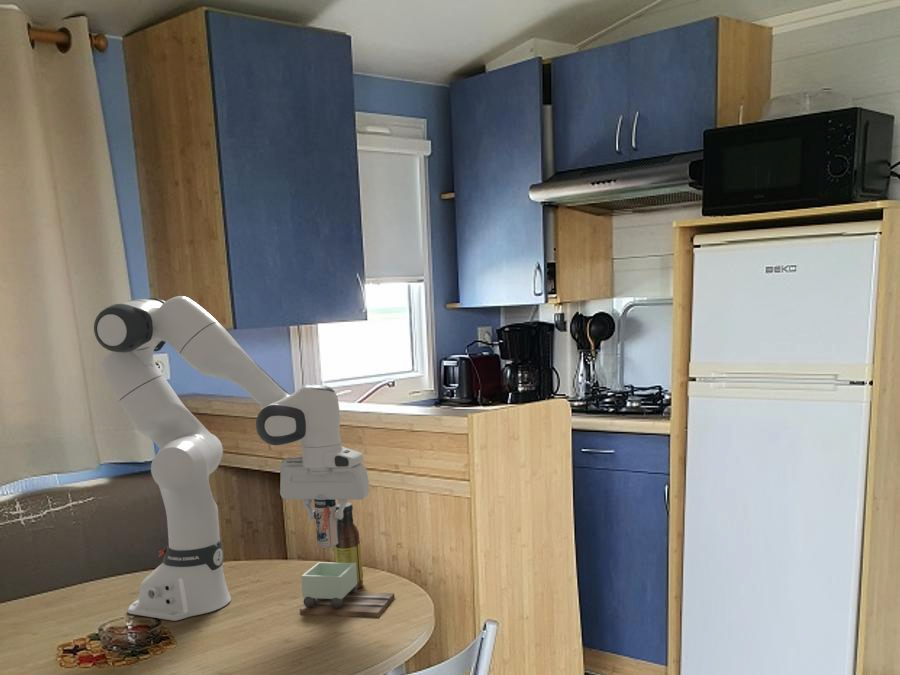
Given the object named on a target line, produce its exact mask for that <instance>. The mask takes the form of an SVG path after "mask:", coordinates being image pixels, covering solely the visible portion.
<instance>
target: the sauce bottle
mask: <svg viewBox="0 0 900 675" xmlns="http://www.w3.org/2000/svg"><path fill="white" fill-rule="evenodd" d="M340 505H341V504H338V503H337V504H336V510H338V509H339V507H340ZM353 510H354V507H353V503H352V502H347V504H346V506H345V508H344V510H343V519H341V520H338V519H337V532H338V542H339V543H338V544H337V545H336V546H334V547H333V550H334V552H333V553H334V562H335V563H356V570H357V585H356V586H357V589H359V588H361V587H362V586H363V585H364V580H363V578H364V574H363V572H364V570H363V561H362V560H363V559H362V548H361V540H360V532H359V529H358V526H356V525H355V523H354V519H353V518H354V517H353Z"/></svg>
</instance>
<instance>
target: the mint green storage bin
mask: <svg viewBox="0 0 900 675" xmlns="http://www.w3.org/2000/svg"><path fill="white" fill-rule="evenodd" d="M300 579H301V593H302V598H303V606H304V605H305V606H306V607H308V608H310V607H312V606H313V605H314V604H315V602H316V600H315V598H324V599H332V600H331V606H332V607H333V608H335V609H338V608H340V607H341V606H342V604H343V600H342V599H343V598H344V597H345V596H346V595H347V594H353V593H354V592H357V590H358V588H357V586H356V585H357V570H356V563H335V561H334V562H330V561H329V562H328V561H327V562H326V561H324V562H323V561H318V562H317V563H316V564H314V565H313V566H312V567H311V568H309V569H308V570H307V571H305V572H304V573H303V574H302V575H301V578H300Z"/></svg>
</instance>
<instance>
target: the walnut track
mask: <svg viewBox="0 0 900 675" xmlns="http://www.w3.org/2000/svg"><path fill="white" fill-rule="evenodd" d="M394 599H395V593H394V592H389V593H388V592H373V591H372V592H370V591H369V592H367V591H355V592H354V593H353V594H347V595H346V596H345V597H344V598H343V599H342V600H343V604H342V606H341V607H340V608H338V609H335V608H333V607H332V606H331V600H332V599H324V598H315V600H316V602H315V604H314V605H313V606H312V607H310V608H308V607H306V606H305V605H304V604H303V606H301V607H300V608H299V614H301V615H318V616H319V615H322V616H323V615H324V616H342V617H344V616H345V617H367V618H369V617H370V618H379V617H380V616H381V615H382V614H383V613H384V611H385V610H386V608H387V607H388V606H389V605H390V604H391V603H392V601H393V600H394Z"/></svg>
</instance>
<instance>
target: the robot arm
mask: <svg viewBox="0 0 900 675" xmlns="http://www.w3.org/2000/svg"><path fill="white" fill-rule="evenodd" d="M93 331H94V332H93V334H94V335H95V339H96V341H97V342H98V344H100V346H101V347H103V348H104V349H106V350H107V351H108V352H106V353H105V355H104V356H103V358H102V360H101V370H102V373H103V375H104V377H105V380H106V382H107V384H108V386H109V388H110V389H111V391H112V393H113V395H114V397H115V398H116V400H117V401H118V403H119V404H120V406H121V407H122V409H123V410H124V412H125V413H126V415H127V416H128V418H129V419H130V420H131V422H132V423H133V425H134V426H135V428H136V430H137V431H138V432H140V433H141V434H142V435H144V436H146V437H148V438H149V439H150V441H152V442H153V443H154V444H155V445H156V446H157V447H158V448H160V449H159V450H158V452H156V454H155V455H154V457H153V459H152V461H151V466H150V473H151V476H152V479H153V481H154V482H155V483H156V484H157V486H158V487H159V492H160V493H161V494H160V495H161V497H162V501H163V505H164V508H165V513H166V520H167V521H166V524H167V536H168V545H167V546H165V547H164V548H163V549H162V550H160V551H158V553H159V555H158V557H162V556H163V555H164V556H163V560H162V563H160V565H158V566H157V567H156V568H155V569H154V570H153V571H152V572H150V573H149V574H148V575H147V576H146V577H145V578H144V579H143V580H142V582H141V583H140V587H139V591H138V598H137V599H136V600H135V601H134V602H132V603H131V604H129V607H128V610H127V611H128V614H130V615H136V616H142V617H149V618H153V619H155V618H157V619H159V620H160V619H162V620H168V621H179V620H183V619H187V618H190V617H195V616H199V615H204V614H208V613H212V612H214V611H216V610H219V609H221V608H223V607H225V606H227V605H228V604H229V603H231V600H232V597H231V594H230V592H229V588H228V586H227V582H226V578H225V573H224V568H223V564H224V563H223V562H224V561H223V560H224V559H223V558H224V552H223V542H222V541H223V540H222V538H220V520H219V510H218V509H219V507H218V504H217V503H216V501H215V499H214V497H213V492H212V489H211V485H210V475H212V473H214V472H215V471H216V470H217V469H218V467H219V465H220V463H221V461H222V458H223V454H224V448H223V444H222V442H221V440H220V439H219V438H218V437H217V436H216V435H214V434H213V433H211V432H210V431H209V430H208V429H207V428H206V427H205V426H204V424H203V423H202V422H201V421H200V420H199V419H198V418H197V417H196V416H195V415H194V414H193V413H192V412H191V411H190V410H189V409H188V408H187V407H186V405H184V403H183V402H182V400H181V399H180V397H179V396H178V395H177V394H176V392H175V390H174V389H173V388H172V386H171V385H170V383H169V382H168V380H167V379H166V377H165V375H164V374H163V373H162V372H161V370H160V369H159V367H158V365H157V364H156V361H155V360H154V352H159V351H161V350H162V349H163V348H164V345H165V344H166V343H167V345H170V347H171V348H172V349H174V350H175V352H176V353H177V354H178V355H179V356H180V357H181V358H182V360H184V361H185V362H186V363H187V364H188V365H189V366H190V367H192V368H193V369H194V370H196V371H197V372H199V373H200V374H201V375H203V376H205V377H210V378H216V379H219V380H220V379H221V380H224V381H228V382H231V383H233V384H234V385H235V384H236V385H237V386H238V387H240V388H241V389H242V390H243V391H245V393H247V394H248V395H249V396H250V397H251V398H252V399H253V400H254V401H255V402H257V404H258V405H260V406H261V408H262V409H261V410H260V412H259V413H258V414H257V417H256V421H255V429H256V432H257V433H256V434H257V435H258V436H259V438H260V439H261V440H262V441H263V442H264V443H266V444H267V445H271V446H277V447H278V446H284V445H288V444H290V443H294V442H300V443H301V457H300V456H299V457H290V456H289V457H285V459H283V460H281V462H280V464H279V472H280V475H281V476H280V485H279V486H280V487H279V488H280V489H279V492H280V493H279V494H280V496H281V498H282V499H283V500H294V501H296V500H298V501H299V500H302V505H303V507H304V509H305V510H306V511H307V515H308V520H316V516H315V508H314V507H313V504H311V503H312V502H313V500H314V499H315V498H316V497H317V495H318V494H319V495H321V494H325V496H326V497H327V498H329V500H335V501H337V504H341V505H340V507H339V509H338V510H336V511H335V512H334V515H335V517H334V519H338V520H341V519H343V510H344V508H345V506H346V504H347V503H348V501H351V500H352V501H353V500H356V501H357V500H358V501H361V500H364V499H365V498H367V496H368V495H369V493H370V482H369V476H368V471H367V468H366V466H365V465H364V464H363V461H364V455H363V454H364V453H362V452H360V451H357V450H355V449H351V448H348V447H345V446H343V444H342V438H341V435H340V426H341V415H340V413H341V412H340V405H339V404H340V403H339V399H338V396H337V393H336V391H335V390H334V389H333V388H332V387H330V386H327V385H324V384H317V383H316V384H312V383H311V384H310V383H308V384H303V385H301V387H300V388H299V389H297V390H296V391H295V392H293V393H291V392H288V391H287V390H286V389H284V388H283V387H282V386H281V385H280V384H279V383H278V382H276V381H275V379H274V378H273V377H271V376H270V375H269V374H268V373H267V372H266V371H265V370H263V368H262V367H260V366H259V365H258V363H256V361H254V360H253V358H251V357H250V356H249V355H248V354H247V353H246V351H245V350H244V349H243V347H242V346H240V344H239V343H238V342H237V341H236V340H235V338H233V336H232V335H231V334H230V332H228V331H227V329H226V328H225V327H224V326H223V325H222V324H221V322H219V321H218V320H217V319H216V317H214V316H213V315H211V314H210V313H209V311H207V309H205V308H204V307H202V306H201V305H200V304H198V303H197V302H196V301H194V300H192V299H191V298H190V297H187V296H184V295H178V296H174V297H171V298H169V299H167V300H166V301H165V300H163V299H159V298H151V297H150V298H140V299H138V298H137V299H131V300H128V301H126V302H125V301H124V302H122V303H115V304H112V305H109V306H107V307H105V308H104V309H103V310H101V311H100V312H99V313H98V315H97V316H96V318H95V319H94V324H93Z"/></svg>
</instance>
